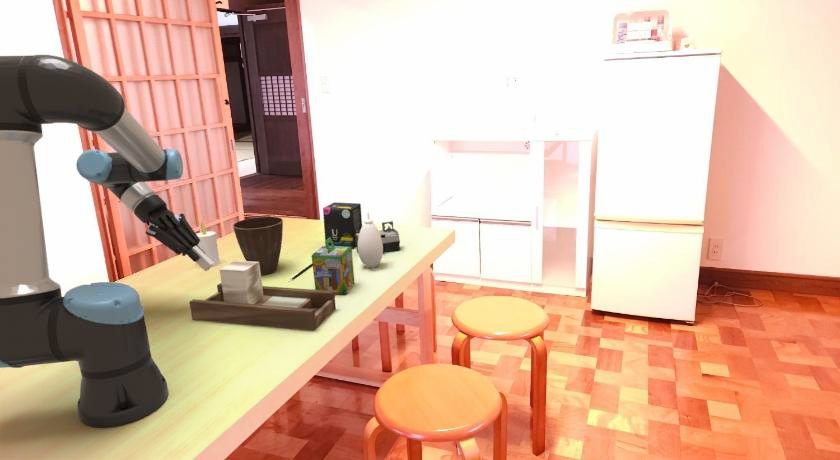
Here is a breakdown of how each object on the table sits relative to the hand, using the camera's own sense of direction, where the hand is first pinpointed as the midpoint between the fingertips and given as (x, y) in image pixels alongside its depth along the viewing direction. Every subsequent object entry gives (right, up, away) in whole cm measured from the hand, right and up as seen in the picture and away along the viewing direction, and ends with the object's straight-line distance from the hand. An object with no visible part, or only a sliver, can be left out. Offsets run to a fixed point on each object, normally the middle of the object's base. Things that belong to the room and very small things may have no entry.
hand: (209, 267), depth 144 cm
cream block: (+9, -9, -1) cm, 13 cm away
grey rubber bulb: (+40, -2, +31) cm, 50 cm away
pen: (+19, -4, +30) cm, 35 cm away
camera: (+41, +2, +45) cm, 61 cm away
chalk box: (+31, -7, +14) cm, 35 cm away
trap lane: (+14, -12, -1) cm, 18 cm away
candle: (-15, -2, +40) cm, 43 cm away
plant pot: (+5, -3, +31) cm, 32 cm away
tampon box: (+28, +4, +55) cm, 62 cm away
